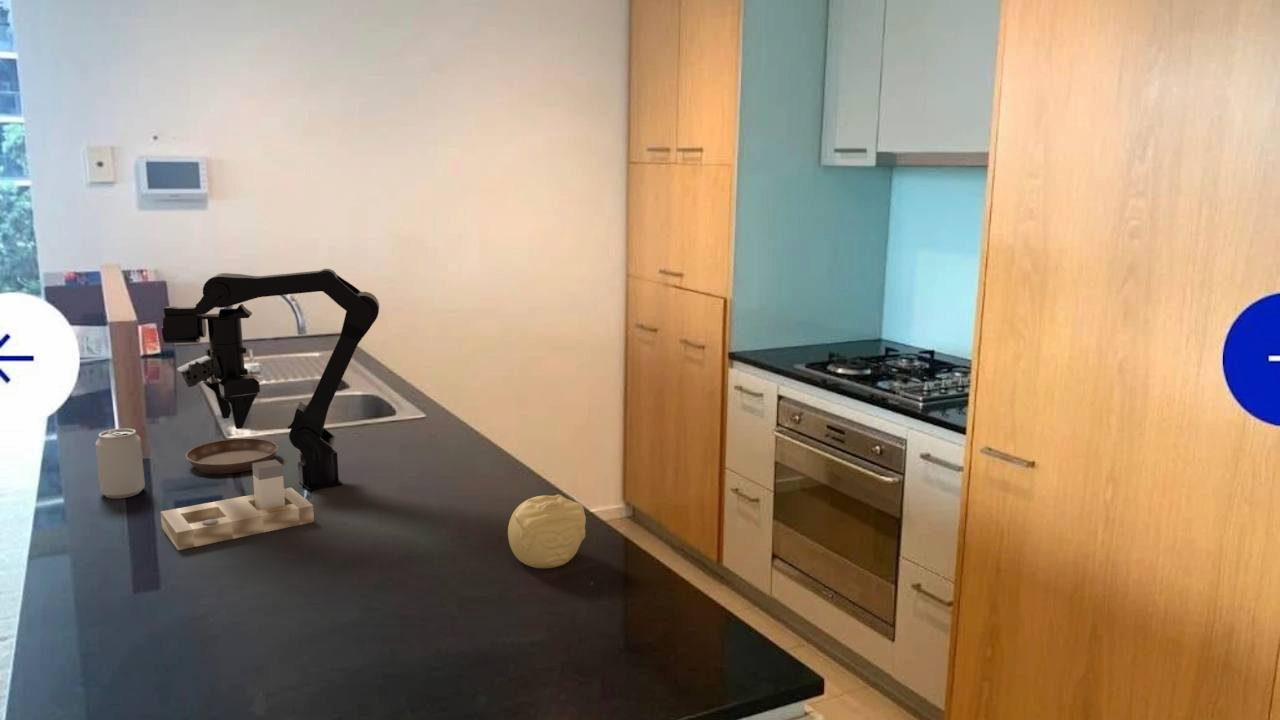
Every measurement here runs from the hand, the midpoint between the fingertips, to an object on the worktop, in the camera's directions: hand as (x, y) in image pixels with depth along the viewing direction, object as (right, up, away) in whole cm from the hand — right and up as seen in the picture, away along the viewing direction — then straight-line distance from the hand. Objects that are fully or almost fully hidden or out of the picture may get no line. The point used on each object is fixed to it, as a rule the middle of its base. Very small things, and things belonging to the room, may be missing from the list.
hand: (232, 423), depth 186 cm
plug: (+12, -16, -13) cm, 24 cm away
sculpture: (+62, -20, -30) cm, 72 cm away
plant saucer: (-8, -10, +19) cm, 23 cm away
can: (-20, -13, 0) cm, 24 cm away
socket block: (+8, -17, -16) cm, 24 cm away
